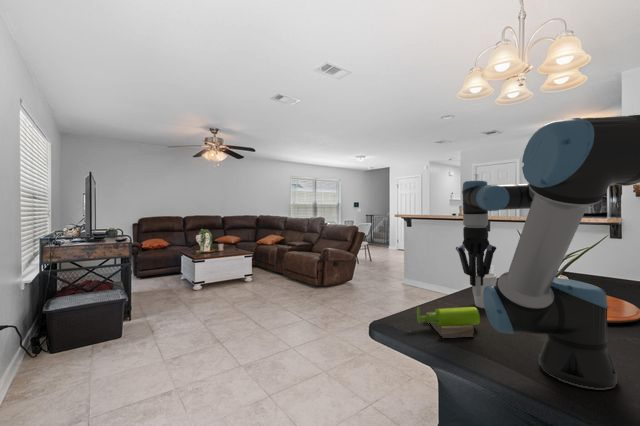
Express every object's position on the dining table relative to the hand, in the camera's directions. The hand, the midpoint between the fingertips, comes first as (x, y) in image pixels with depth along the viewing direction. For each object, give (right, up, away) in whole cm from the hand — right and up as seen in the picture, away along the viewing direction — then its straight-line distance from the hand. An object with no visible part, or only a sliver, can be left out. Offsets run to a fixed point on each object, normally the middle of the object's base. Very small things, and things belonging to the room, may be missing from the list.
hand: (476, 294), depth 105 cm
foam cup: (+13, -10, +21) cm, 27 cm away
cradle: (-9, -12, 0) cm, 15 cm away
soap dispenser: (0, -7, +1) cm, 7 cm away
